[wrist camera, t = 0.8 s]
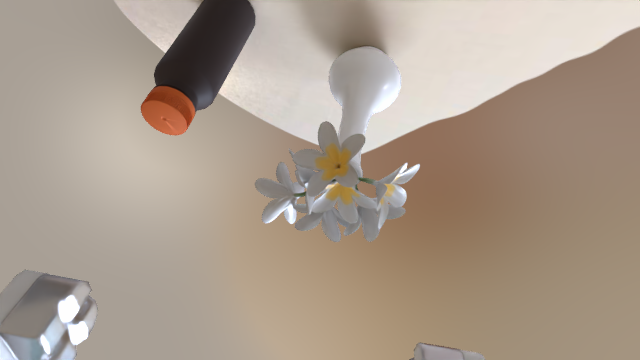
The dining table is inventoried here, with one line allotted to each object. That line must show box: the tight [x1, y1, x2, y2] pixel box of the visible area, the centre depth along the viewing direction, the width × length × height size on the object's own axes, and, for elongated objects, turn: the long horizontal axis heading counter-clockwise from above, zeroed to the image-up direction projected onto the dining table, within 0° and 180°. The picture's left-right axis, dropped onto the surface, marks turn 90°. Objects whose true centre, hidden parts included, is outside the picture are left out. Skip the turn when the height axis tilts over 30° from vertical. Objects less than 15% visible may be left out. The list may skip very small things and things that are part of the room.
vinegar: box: [141, 0, 255, 135], centre depth 50 cm, size 7×7×20 cm
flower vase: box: [255, 46, 420, 242], centre depth 51 cm, size 13×18×25 cm
